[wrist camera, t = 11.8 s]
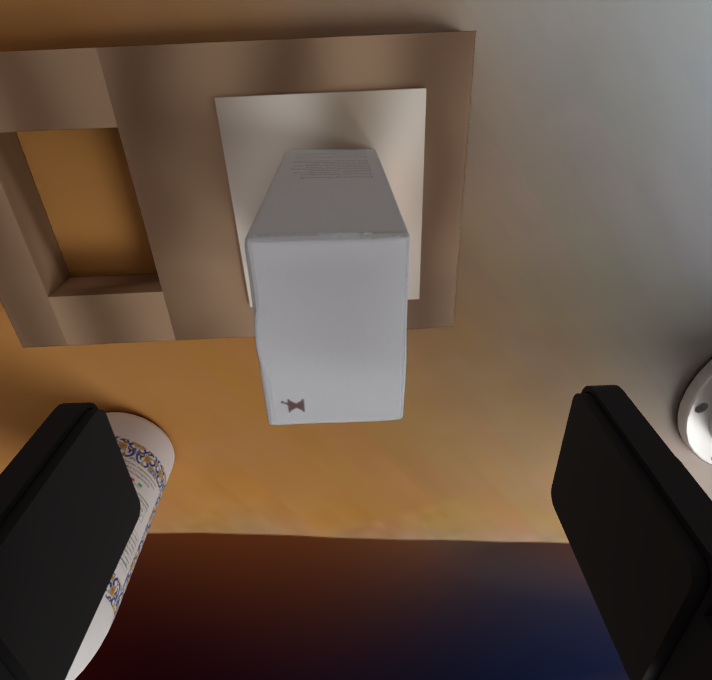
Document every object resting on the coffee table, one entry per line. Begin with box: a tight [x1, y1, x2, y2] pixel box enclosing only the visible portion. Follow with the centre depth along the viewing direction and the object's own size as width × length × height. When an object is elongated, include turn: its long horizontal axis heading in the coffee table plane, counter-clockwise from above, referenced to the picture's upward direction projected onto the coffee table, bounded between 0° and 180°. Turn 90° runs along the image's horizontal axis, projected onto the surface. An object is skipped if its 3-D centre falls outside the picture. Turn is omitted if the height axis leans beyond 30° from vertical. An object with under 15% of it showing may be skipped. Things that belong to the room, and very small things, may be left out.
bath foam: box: [65, 412, 175, 680], centre depth 26 cm, size 7×7×20 cm
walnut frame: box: [0, 31, 476, 348], centre depth 24 cm, size 24×14×3 cm, turn 92°
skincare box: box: [244, 149, 410, 425], centre depth 18 cm, size 6×4×12 cm
